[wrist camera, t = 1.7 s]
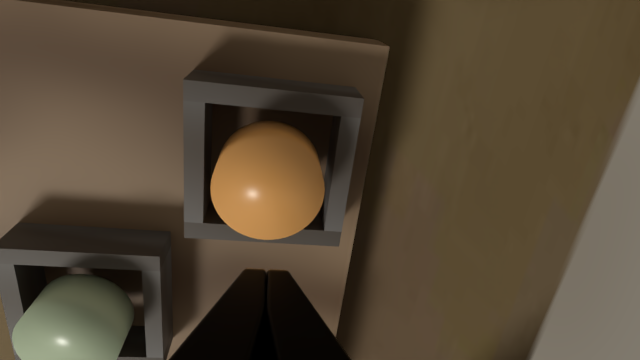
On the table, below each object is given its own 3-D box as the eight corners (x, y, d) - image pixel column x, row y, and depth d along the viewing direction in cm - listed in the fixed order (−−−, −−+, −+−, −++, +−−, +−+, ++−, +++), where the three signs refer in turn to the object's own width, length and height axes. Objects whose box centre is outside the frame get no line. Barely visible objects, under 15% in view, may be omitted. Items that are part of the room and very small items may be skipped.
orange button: (313, 216, 14) (317, 243, 13) (216, 210, 14) (209, 236, 12) (325, 125, 13) (332, 143, 11) (219, 115, 12) (211, 132, 11)
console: (311, 414, 23) (317, 484, 20) (61, 413, 22) (22, 489, 18) (376, 39, 15) (403, 53, 12) (-15, -10, 14) (-109, -9, 10)
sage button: (136, 345, 16) (122, 381, 14) (45, 343, 15) (20, 379, 14) (131, 276, 14) (115, 307, 13) (31, 271, 14) (3, 303, 13)
